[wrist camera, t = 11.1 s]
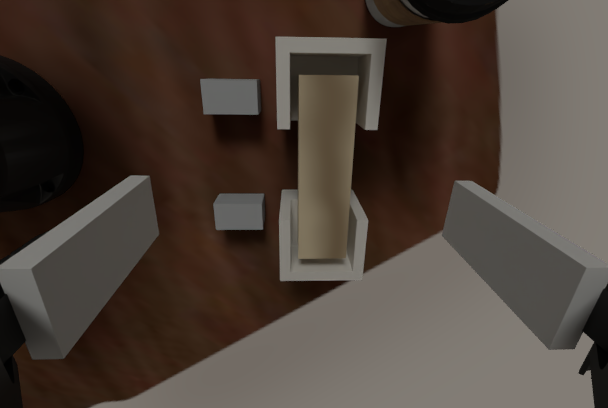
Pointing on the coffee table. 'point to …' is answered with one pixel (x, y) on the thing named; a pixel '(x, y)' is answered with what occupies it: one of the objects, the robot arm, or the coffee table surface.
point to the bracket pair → (369, 67)
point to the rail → (325, 163)
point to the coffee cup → (429, 11)
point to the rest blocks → (242, 101)
